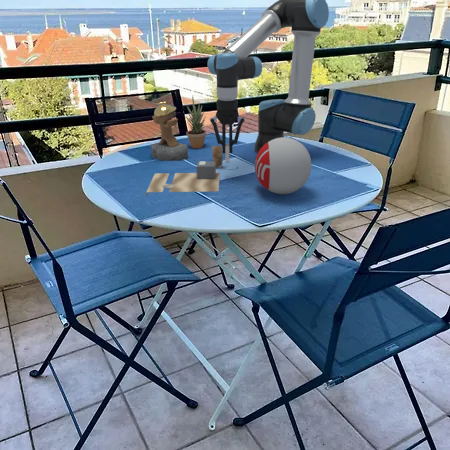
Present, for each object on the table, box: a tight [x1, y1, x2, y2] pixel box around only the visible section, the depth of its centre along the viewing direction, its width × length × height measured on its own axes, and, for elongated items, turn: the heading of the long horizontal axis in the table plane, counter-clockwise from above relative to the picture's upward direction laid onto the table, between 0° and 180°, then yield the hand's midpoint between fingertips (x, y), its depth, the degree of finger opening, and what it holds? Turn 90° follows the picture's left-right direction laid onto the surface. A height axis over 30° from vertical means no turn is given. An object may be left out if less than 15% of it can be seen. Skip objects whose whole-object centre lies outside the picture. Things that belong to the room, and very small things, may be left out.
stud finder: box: [196, 160, 217, 179], centre depth 175 cm, size 7×6×5 cm
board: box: [145, 172, 221, 197], centre depth 171 cm, size 26×20×2 cm
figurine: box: [150, 101, 189, 162], centre depth 198 cm, size 14×11×25 cm
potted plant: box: [185, 96, 207, 149], centre depth 212 cm, size 10×10×25 cm
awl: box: [211, 145, 223, 169], centre depth 184 cm, size 4×4×10 cm
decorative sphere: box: [254, 136, 312, 195], centre depth 159 cm, size 20×20×20 cm
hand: (227, 161), depth 173 cm, fingers closed
